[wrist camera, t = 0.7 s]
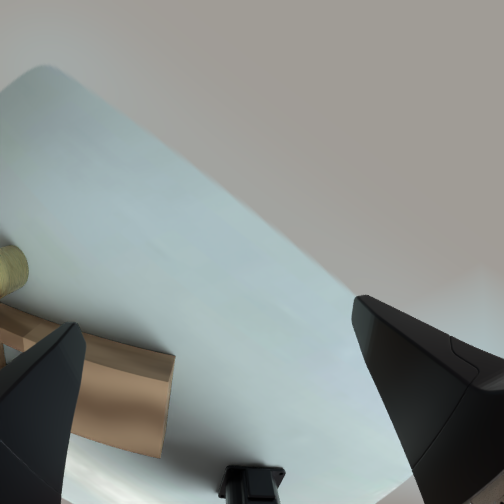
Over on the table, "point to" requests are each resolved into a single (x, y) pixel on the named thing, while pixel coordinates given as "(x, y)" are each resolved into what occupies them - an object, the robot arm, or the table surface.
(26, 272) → the disc
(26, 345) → the jig
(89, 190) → the table surface
